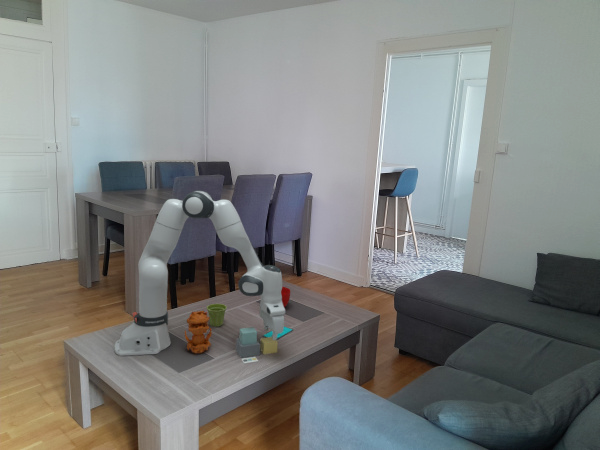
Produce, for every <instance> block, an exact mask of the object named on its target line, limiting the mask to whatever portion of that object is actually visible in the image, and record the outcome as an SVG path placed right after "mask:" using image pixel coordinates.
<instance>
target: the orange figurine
mask: <svg viewBox="0 0 600 450" xmlns="http://www.w3.org/2000/svg"><path fill="white" fill-rule="evenodd" d="M209 318H210V317H209V315H208V311H206V312H205V310H200V311H199V310H197V311H194V310H193V311H192V312H191V313H190V314H189V317H188V318H187V319H186V323H187V326H188V329H187V330H188V332H190V333H191V334H192V336H191V339H190V338H189V337H188V335H187V330H186V329H185V330H184V338H185V340H186V342H187V344H186V345H187V346H186V349H187V351H189V350H190V351H191V353H194V354H202V353H204V352H205V351H208V350H209V349H208V348H210V347H212V344H211V341H210V338H211V337H212V333H213V332H212V330H213V329H212V327H210V326H209V323H208V322H210V319H209ZM206 333H207V335H206V336H205V334H206Z"/></svg>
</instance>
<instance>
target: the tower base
mask: <svg viewBox="0 0 600 450" xmlns="http://www.w3.org/2000/svg"><path fill="white" fill-rule="evenodd" d="M259 342H260V341H258V340H257V343H254V344H246V345H242V343H241V342H240V340H239V338H238V337H237V338H236V339H235V351H236V353H237V355H238V356H239V358H240V359H243V358H249V357H259V356H260V355H261V350H260V343H259Z"/></svg>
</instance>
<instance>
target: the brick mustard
mask: <svg viewBox="0 0 600 450" xmlns="http://www.w3.org/2000/svg"><path fill="white" fill-rule="evenodd" d="M259 340H260V341H259V342H260V343H259V344H260V352H262V354H263V355H268V354H275V353H276V354H277V353H278V340H273V339H272V337H268V338H265V337H262V338H260V339H259Z"/></svg>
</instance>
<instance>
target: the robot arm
mask: <svg viewBox="0 0 600 450" xmlns="http://www.w3.org/2000/svg"><path fill="white" fill-rule="evenodd" d="M189 218H191V219H195V220H199V219H209V220H211V223H212V224H213V227H214V229H215V232H216V234H217V237H218V238H219V239H220V242H221V243H222V245H224V246H227V247H228V248H233V249H235V250H236V251H238V253H239V254H240V255H241V258H242V260H243V262H244V264H245V266H246V269H247V270H246V272H245V273H244V274H243V275H242V276H241V277H239V280H238V283H237V285H238V290H239V291H240V293H241V294H242V295H243V296H247V297H257V296H258V297H259V296H260V303H259V317H260V318H261V320H262V321H263V327H264V328H263V330H265V332H267V331H268V332H270V331H272V332H273V335H272V339H273V340H277V335H278V333H282V332H283V329H284V326H285V315H286V308H285V307H284V306H283V303H282V295H281V290H282V287H283V277H282V271H281V269H280V268H279V267H278V266H275V265H271V264H269V265H268V264H267V265H264V264H263V263H262V262H261V260H260V258H259V256H258V253H257V251H256V250H255V247H254V246H253V243H252V241H251V239H250V238H249V236H248V234H247V232H246V230H245V227H244V224H243V223H242V220H241V217H240V215H239V213H238V211H237V209H236V208H235V206H234V205H233V203H232V202H231V200H228V199H219V200H216V201H215V200H214V198H213V197H212V195H211V194H210V193H209V192H206V191H202V190H194V191H192V192H189V193H188V194H186V195H185V196H184V198H183V200H182V199H181V200H180V199H177V198H169V199H167V200H166V201H165V202H164V203H163V204H162V206H161V208H160V211H159V213H158V215H157V218H156V219H155V221H154V224H153V227H152V230H151V232H150V236H149V238H148V241H147V242H146V245H145V246H144V248H143V251H142V253H141V256H140V258H139V261H138V262H137V263H138V265H137V266H138V267H137V268H138V304H139V305H138V306H139V307H138V311H139V312H137V311H135V312H132V318H133V320H134V321H133V322H132V323H131V324H130V325H128V326H126V328H124V329H123V330H122V332H121V334H120V338H119V339H118V340H116V342H115V343H114V352H115V354H117V356H120V357H123V356H139V355H140V356H141V355H143V356H145V355H156V354H157V355H158V354H159V353H160V352H162V351H164V350H165V349H167V348H168V347H169V346H170V345H171V344H172V340H171V338H170V334H169V328H168V324H169V313H168V310H167V309H168V304H167V302H168V298H167V296H168V285H169V284H168V279H169V271H168V267H167V265H168V262H169V260H170V259H171V258H170V257H171V256H172V254H173V251H174V250H175V249H176V246H177V245H178V241H179V239H180V236H181V233H182V231H183V228H184V226H185V223H186V221H187V219H189ZM277 341H278V340H277Z"/></svg>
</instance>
